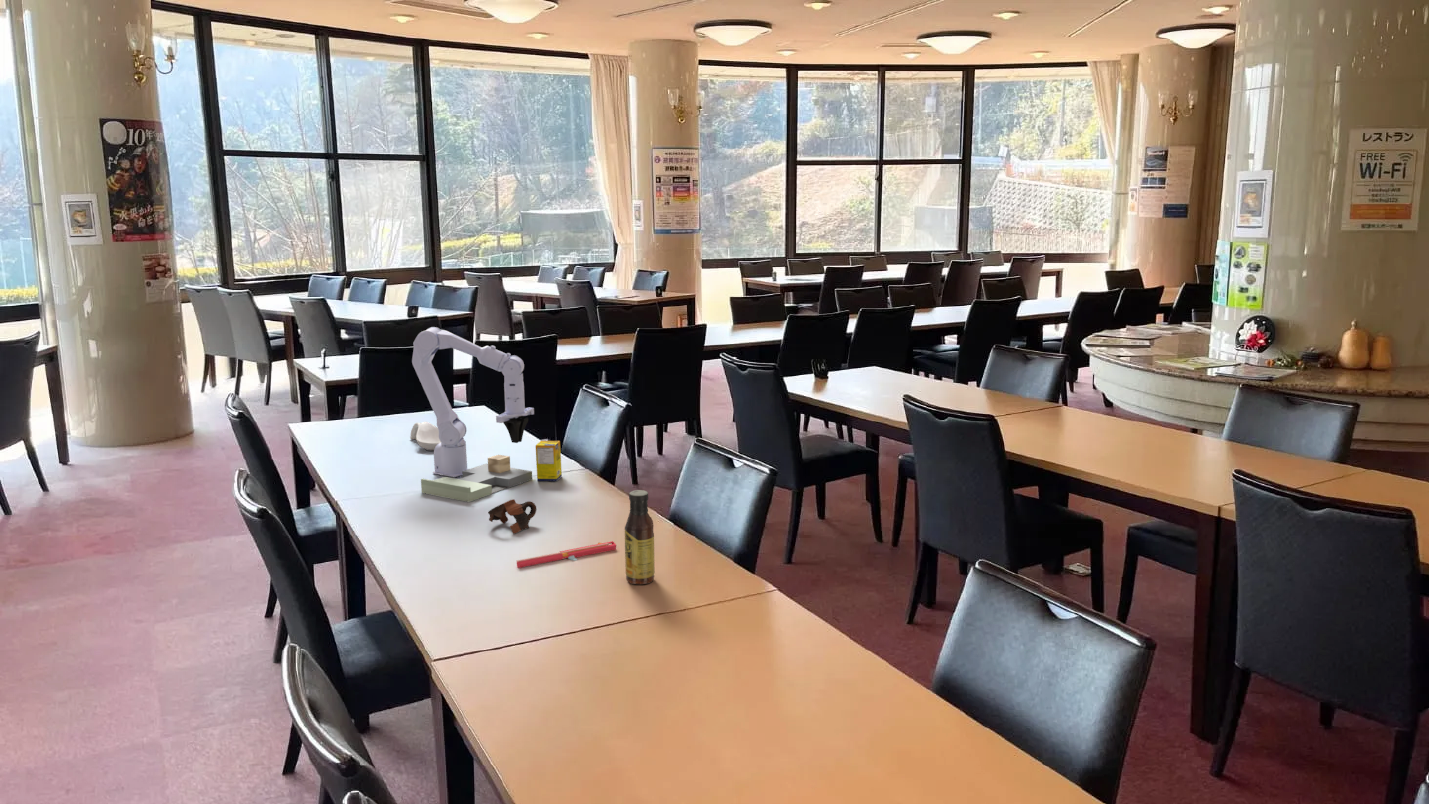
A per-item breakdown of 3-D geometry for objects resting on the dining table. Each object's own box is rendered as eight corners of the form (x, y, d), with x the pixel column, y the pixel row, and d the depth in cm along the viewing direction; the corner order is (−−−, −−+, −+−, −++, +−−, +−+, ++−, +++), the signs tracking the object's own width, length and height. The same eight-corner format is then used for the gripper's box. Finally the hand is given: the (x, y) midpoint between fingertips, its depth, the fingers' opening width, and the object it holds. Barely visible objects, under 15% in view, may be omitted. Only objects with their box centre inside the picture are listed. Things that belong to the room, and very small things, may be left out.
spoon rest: (459, 449, 335) (458, 428, 334) (425, 455, 328) (423, 433, 327) (432, 437, 354) (431, 416, 352) (399, 441, 347) (397, 421, 346)
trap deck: (421, 492, 285) (420, 479, 284) (486, 471, 307) (485, 458, 306) (469, 502, 276) (468, 487, 275) (532, 479, 298) (531, 466, 297)
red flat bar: (618, 556, 236) (610, 544, 240) (619, 548, 235) (611, 537, 239) (520, 575, 224) (513, 563, 228) (520, 568, 223) (513, 555, 227)
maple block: (488, 471, 297) (487, 457, 297) (498, 467, 301) (498, 454, 300) (499, 473, 295) (499, 459, 294) (510, 469, 299) (509, 456, 298)
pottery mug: (504, 539, 247) (489, 508, 247) (495, 545, 255) (480, 516, 256) (547, 518, 253) (532, 488, 253) (537, 525, 261) (522, 496, 262)
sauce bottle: (625, 575, 220) (623, 487, 216) (654, 574, 221) (652, 486, 217) (625, 587, 214) (623, 496, 210) (655, 586, 214) (653, 495, 211)
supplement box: (562, 476, 301) (560, 440, 299) (556, 481, 295) (555, 445, 293) (542, 475, 301) (540, 440, 299) (536, 481, 295) (535, 444, 293)
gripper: (508, 402, 293) (510, 448, 295) (540, 394, 305) (542, 438, 308) (489, 400, 296) (492, 445, 299) (523, 392, 309) (525, 435, 311)
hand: (516, 441), depth 304 cm, fingers closed
